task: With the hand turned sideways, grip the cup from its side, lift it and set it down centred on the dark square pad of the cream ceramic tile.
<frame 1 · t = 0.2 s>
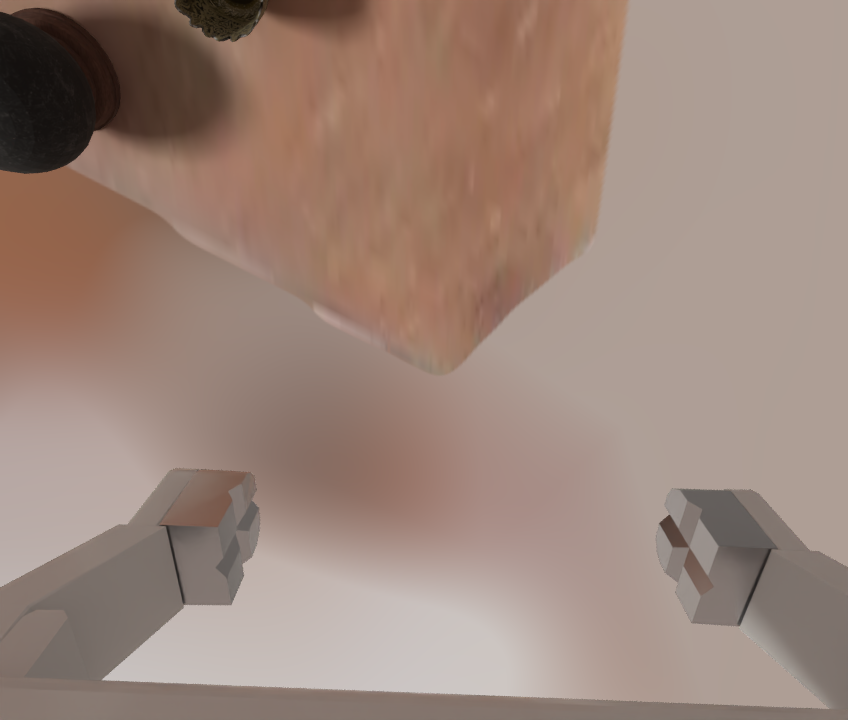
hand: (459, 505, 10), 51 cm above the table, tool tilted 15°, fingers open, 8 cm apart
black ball: (64, 72, 53), on the table
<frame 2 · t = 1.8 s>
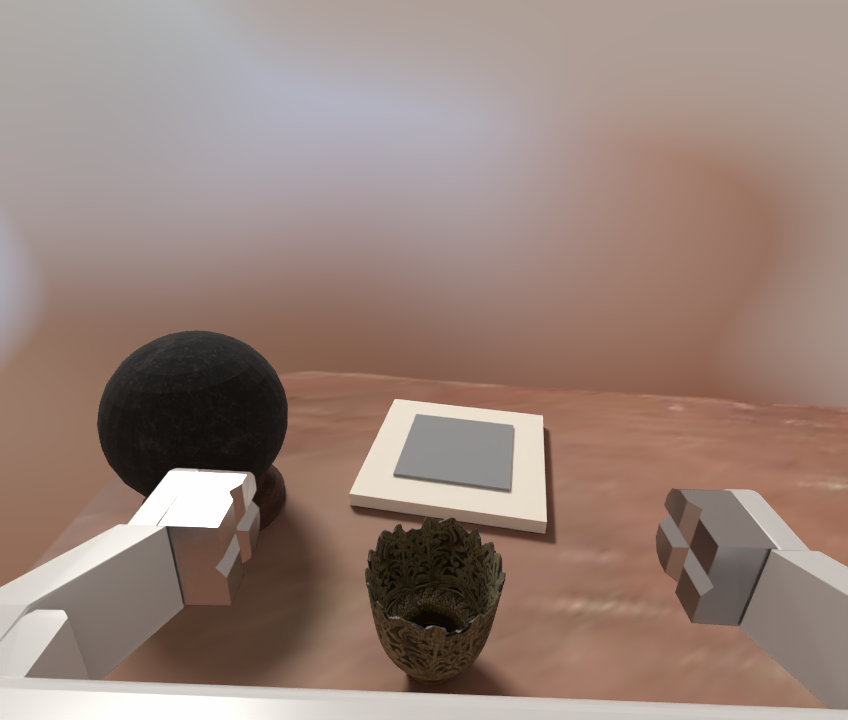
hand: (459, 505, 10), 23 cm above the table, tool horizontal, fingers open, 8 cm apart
tile plinth: (457, 460, 49), on the table
cup: (431, 662, 31), on the table
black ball: (216, 504, 43), on the table
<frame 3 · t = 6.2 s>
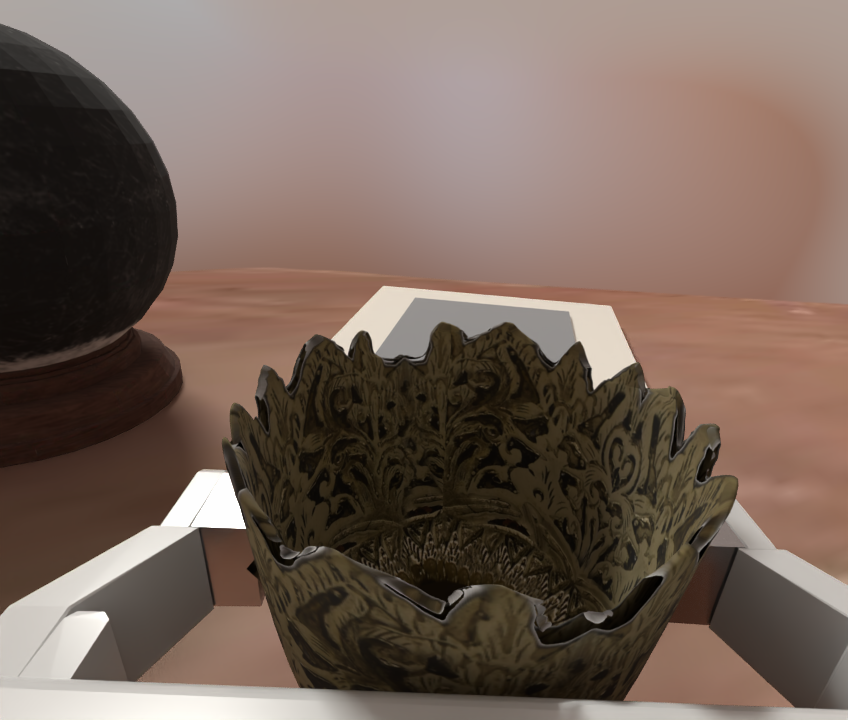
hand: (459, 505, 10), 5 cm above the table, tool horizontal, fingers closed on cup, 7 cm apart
tile plinth: (481, 355, 30), on the table
cup: (445, 716, 12), on the table, touching gripper
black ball: (50, 400, 24), on the table
when the fingers open (8 cm above the table, at t = 13.1 s): cup drops 1 cm, resting on tile plinth.
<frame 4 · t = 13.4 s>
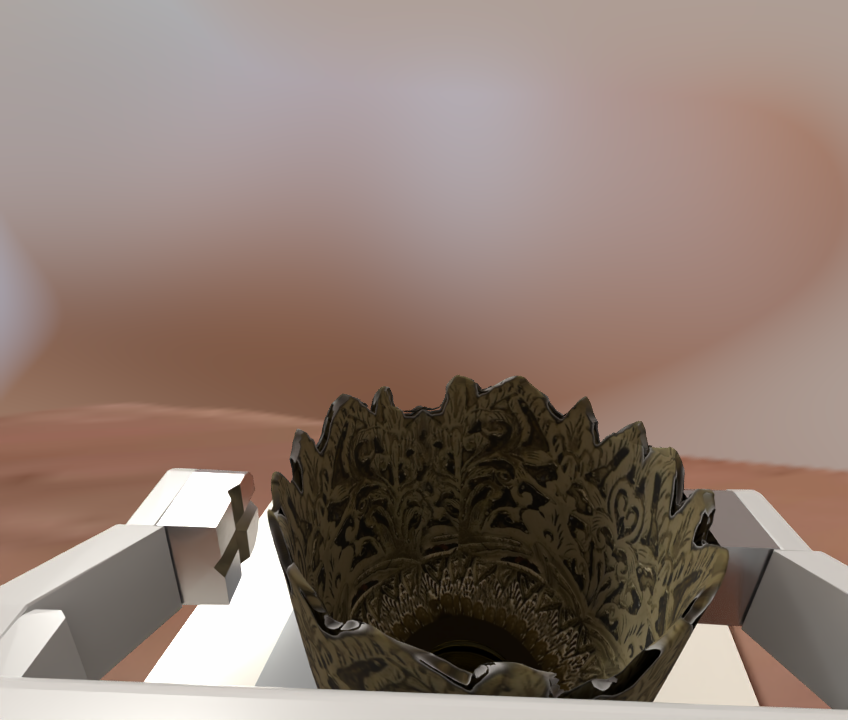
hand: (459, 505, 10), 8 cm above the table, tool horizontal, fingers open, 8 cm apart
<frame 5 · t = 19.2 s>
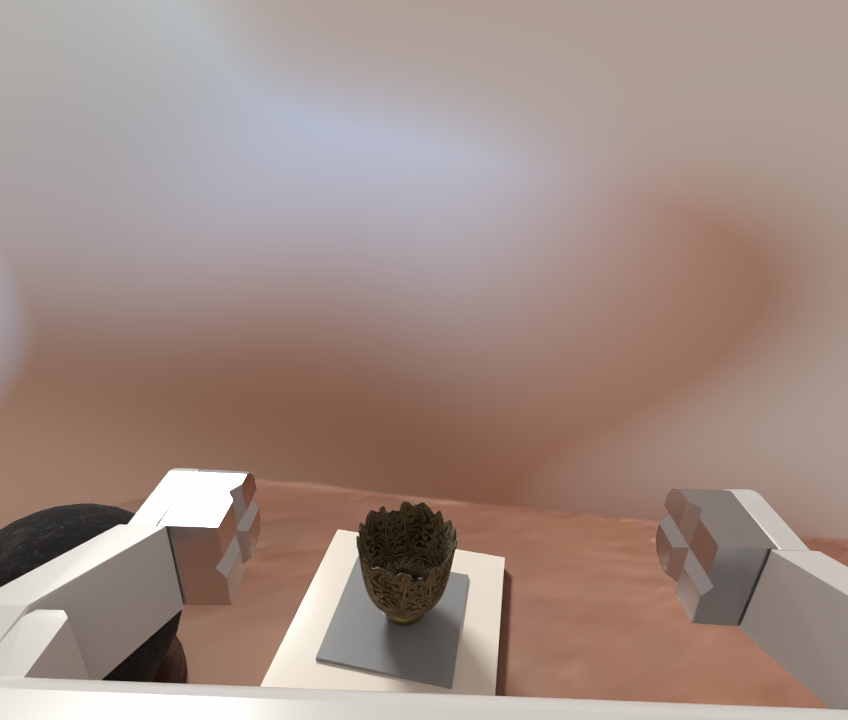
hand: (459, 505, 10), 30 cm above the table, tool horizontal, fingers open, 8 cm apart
tile plinth: (398, 625, 42), on the table
cup: (405, 611, 41), point 1 cm above the table, touching tile plinth
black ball: (99, 699, 36), on the table
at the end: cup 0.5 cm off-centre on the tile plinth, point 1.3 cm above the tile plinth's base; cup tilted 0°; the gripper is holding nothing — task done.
